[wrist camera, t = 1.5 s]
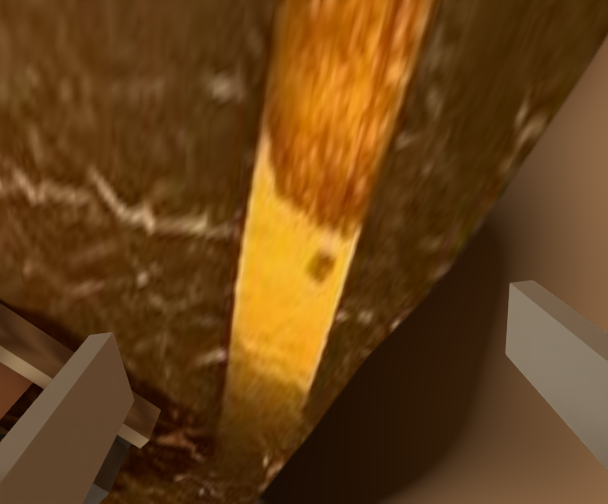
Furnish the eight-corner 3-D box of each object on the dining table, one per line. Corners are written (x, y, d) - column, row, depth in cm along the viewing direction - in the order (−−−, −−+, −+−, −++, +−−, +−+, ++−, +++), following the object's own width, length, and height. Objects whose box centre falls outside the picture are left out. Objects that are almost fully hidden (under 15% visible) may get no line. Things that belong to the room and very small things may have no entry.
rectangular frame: (-85, 390, 40) (-170, 456, 33) (-10, 296, 37) (-85, 346, 30) (83, 485, 45) (43, 561, 38) (161, 409, 42) (134, 476, 35)
